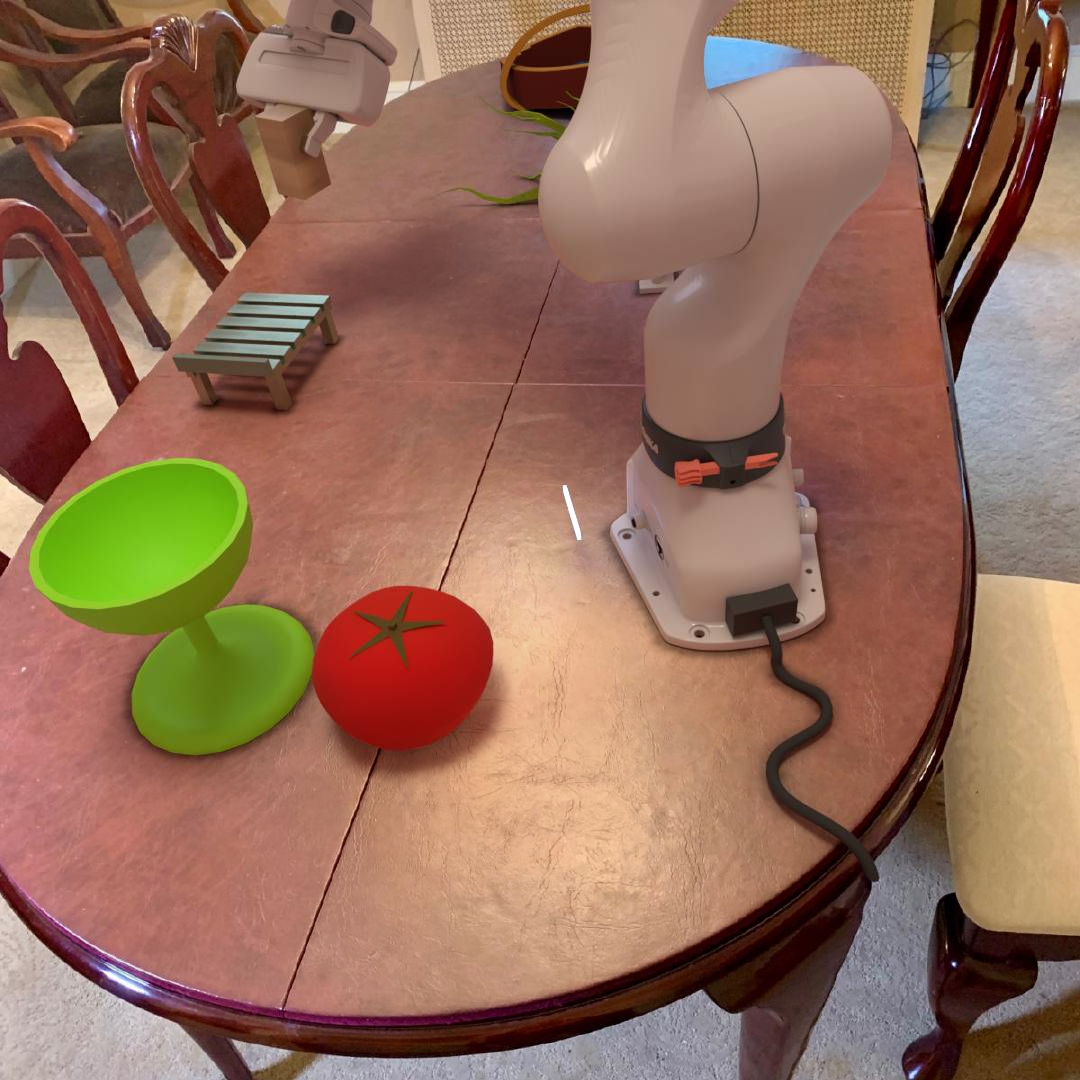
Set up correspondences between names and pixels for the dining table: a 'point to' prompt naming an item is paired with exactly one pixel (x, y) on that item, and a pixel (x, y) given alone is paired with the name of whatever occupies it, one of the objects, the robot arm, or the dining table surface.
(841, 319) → the dining table surface
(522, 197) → the decorative plant
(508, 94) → the decorative basket
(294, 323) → the rack
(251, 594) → the dining table surface
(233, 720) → the wineglass
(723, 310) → the robot arm
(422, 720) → the tomato
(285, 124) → the block
